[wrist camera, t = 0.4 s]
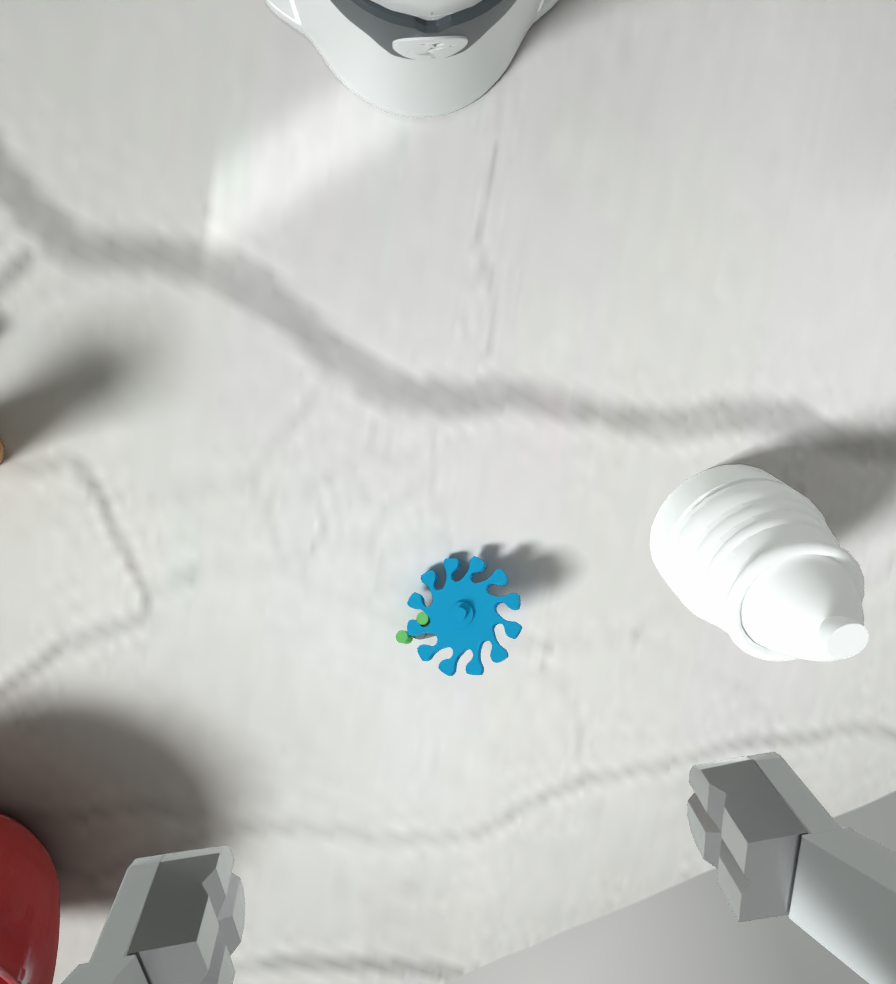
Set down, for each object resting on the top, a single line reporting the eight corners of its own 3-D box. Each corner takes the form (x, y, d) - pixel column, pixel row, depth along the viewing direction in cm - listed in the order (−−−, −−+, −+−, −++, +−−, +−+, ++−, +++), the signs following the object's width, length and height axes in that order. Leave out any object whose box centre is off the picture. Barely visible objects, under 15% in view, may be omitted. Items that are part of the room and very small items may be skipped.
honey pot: (622, 524, 53) (721, 653, 37) (751, 434, 51) (919, 528, 34) (693, 618, 58) (810, 771, 41) (815, 539, 55) (992, 668, 39)
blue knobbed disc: (503, 540, 51) (533, 660, 48) (516, 555, 57) (544, 664, 53) (382, 574, 54) (402, 692, 50) (406, 585, 59) (425, 692, 55)
